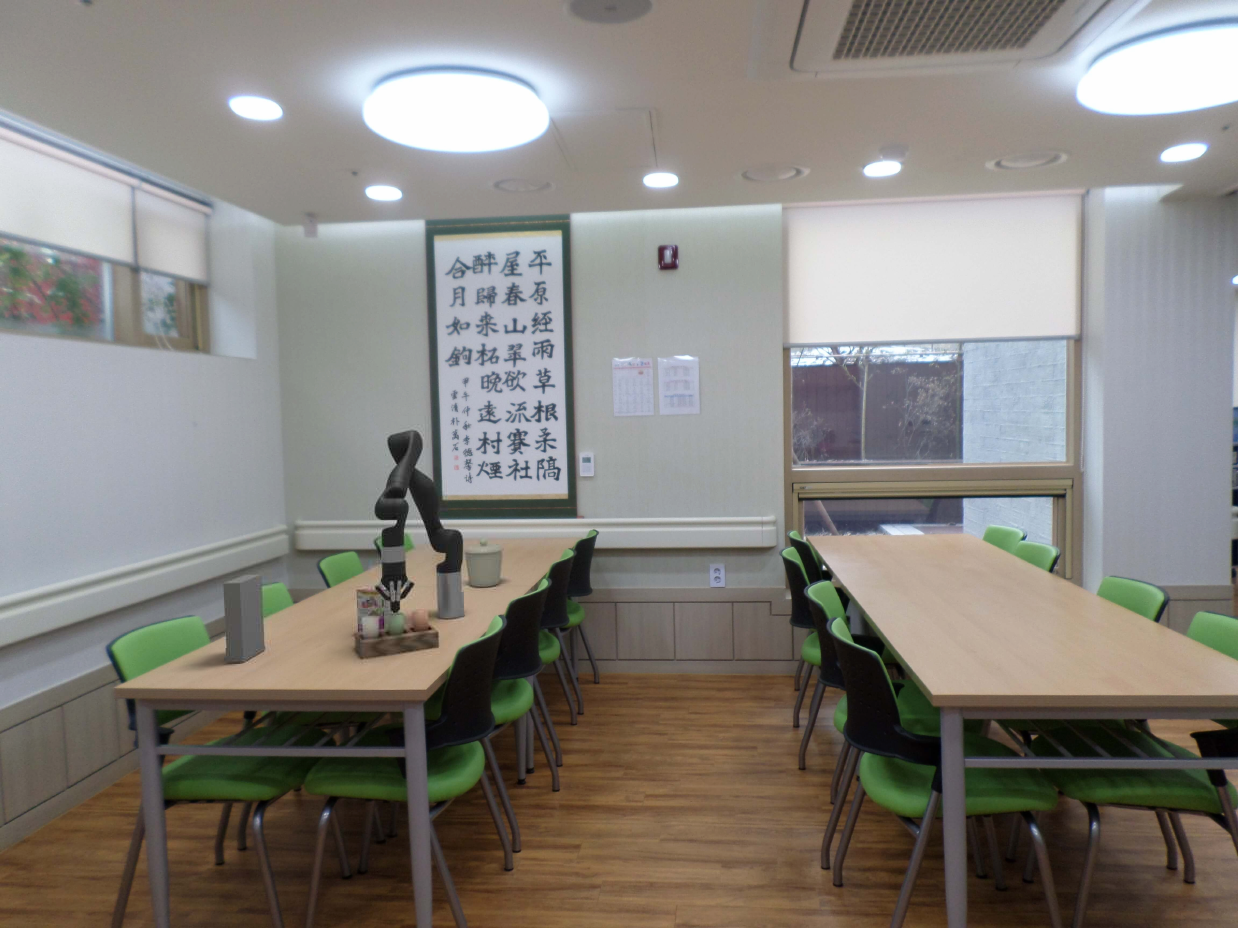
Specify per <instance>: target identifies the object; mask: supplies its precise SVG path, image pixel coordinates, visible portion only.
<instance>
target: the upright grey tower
mask: <svg viewBox="0 0 1238 928" xmlns="http://www.w3.org/2000/svg"><path fill="white" fill-rule="evenodd" d="M262 580H263V578H262V574H245V575H242V576H239V577H237V578H234V579H232V580H229V581H226V582H223V604H224V605H223V606H224V626H225V644H226V645H225V646H226V647H225V657H226V658H224V663H226V664H230V663H240V664H244V663H245V662H247V661H248V660H250V659H252V658H253V657H255V656H257V655H259V654H260V653H263V652H264V651H265V650H266V646H265V625H264V624H265V623H264V604H263V585H262V584H263V582H262Z"/></svg>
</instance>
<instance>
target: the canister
mask: <svg viewBox="0 0 1238 928" xmlns="http://www.w3.org/2000/svg"><path fill="white" fill-rule="evenodd" d="M478 542H479V543H478V544H475V545H474V544H473V545H469V546H466V548H463V553H464V556H465V557H464V558H465V562H466V563H465V564H466V569H467V576H468V577H467V578H468V581H469V584H470V585H471V587H475V588H489V587H494V586H497V585H499V583H500V581H501V572H502V562H503V561H502V560H503V552H504V549H505V548H504V547H503V546H501V545H499V544H493V543H488V540H487V539H485V538H483V539H482V538H481V539H480V540H479V541H478Z"/></svg>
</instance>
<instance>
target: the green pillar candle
mask: <svg viewBox="0 0 1238 928" xmlns="http://www.w3.org/2000/svg"><path fill="white" fill-rule="evenodd" d="M404 616H405V615H404V612H399V611H398V613H393V612H392V613H390V614H388V636H392V635H399V634H404V626H405V618H404Z"/></svg>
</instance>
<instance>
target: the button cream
mask: <svg viewBox="0 0 1238 928" xmlns="http://www.w3.org/2000/svg"><path fill="white" fill-rule="evenodd" d="M362 626H363V640H364V639H371V638H378V637H379V617H378V616H366V617H363V618H362Z"/></svg>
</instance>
